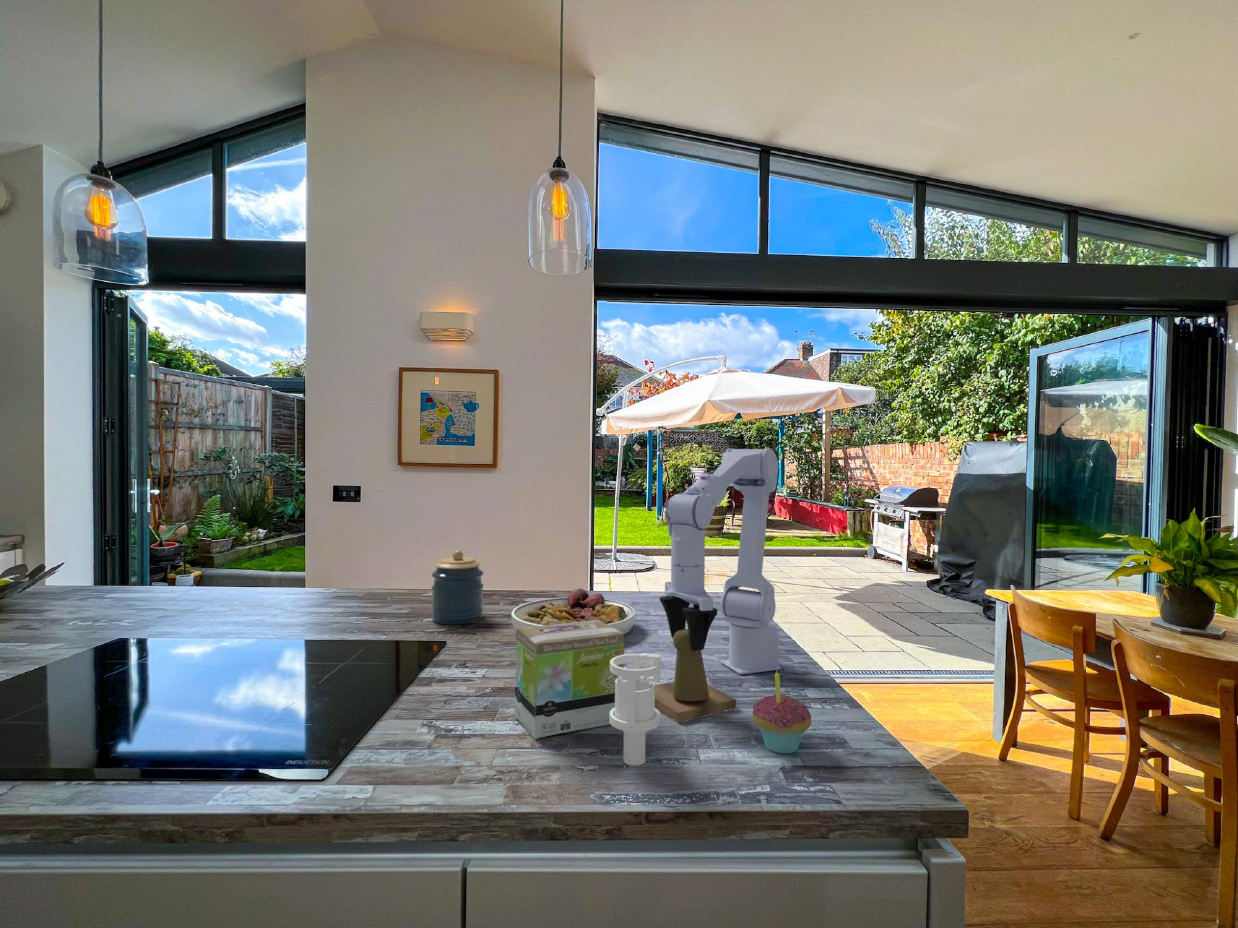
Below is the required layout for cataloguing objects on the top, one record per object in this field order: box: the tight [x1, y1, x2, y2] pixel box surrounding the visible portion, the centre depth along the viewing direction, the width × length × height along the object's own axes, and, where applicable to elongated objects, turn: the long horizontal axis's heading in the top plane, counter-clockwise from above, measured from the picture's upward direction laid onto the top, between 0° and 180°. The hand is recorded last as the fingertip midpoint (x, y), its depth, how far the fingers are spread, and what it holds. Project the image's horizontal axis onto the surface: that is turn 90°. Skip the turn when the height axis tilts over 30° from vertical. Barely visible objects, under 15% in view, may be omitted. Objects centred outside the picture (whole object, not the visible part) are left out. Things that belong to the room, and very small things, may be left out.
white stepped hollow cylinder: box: [609, 652, 662, 767], centre depth 89 cm, size 7×7×15 cm
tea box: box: [514, 620, 625, 740], centre depth 102 cm, size 15×10×15 cm, turn 117°
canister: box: [431, 550, 484, 625], centre depth 165 cm, size 13×13×18 cm
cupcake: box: [751, 669, 812, 754], centre depth 94 cm, size 9×8×12 cm
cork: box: [672, 628, 709, 701], centre depth 108 cm, size 6×6×11 cm
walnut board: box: [649, 680, 737, 724], centre depth 110 cm, size 12×12×2 cm
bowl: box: [511, 588, 637, 635], centre depth 155 cm, size 30×30×8 cm
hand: (687, 643), depth 110 cm, fingers open, 7 cm apart
